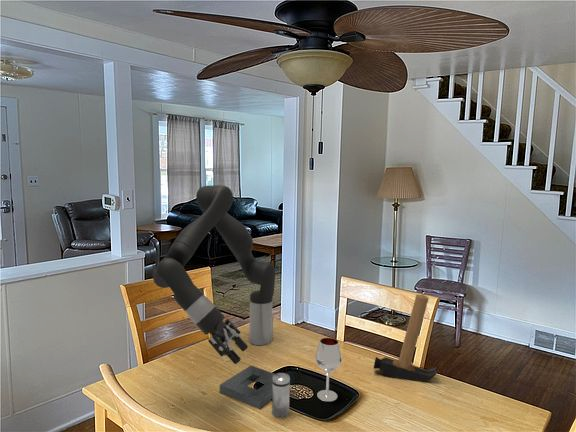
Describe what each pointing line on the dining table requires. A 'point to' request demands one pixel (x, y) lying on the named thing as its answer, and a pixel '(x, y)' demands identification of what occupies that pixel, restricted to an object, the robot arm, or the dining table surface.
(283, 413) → the cylinder
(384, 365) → the hammer
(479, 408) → the dining table surface
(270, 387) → the grey square frame
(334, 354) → the wineglass
